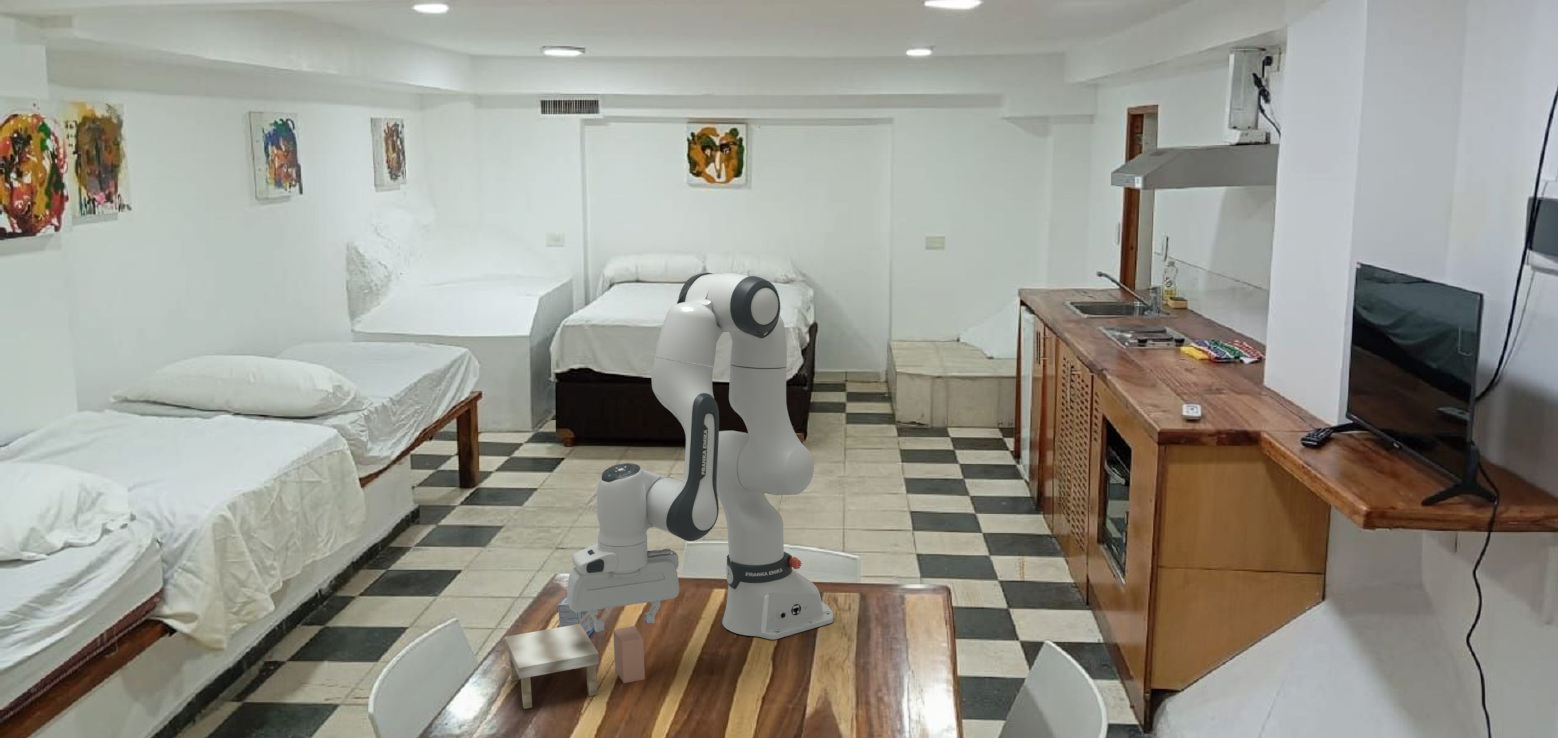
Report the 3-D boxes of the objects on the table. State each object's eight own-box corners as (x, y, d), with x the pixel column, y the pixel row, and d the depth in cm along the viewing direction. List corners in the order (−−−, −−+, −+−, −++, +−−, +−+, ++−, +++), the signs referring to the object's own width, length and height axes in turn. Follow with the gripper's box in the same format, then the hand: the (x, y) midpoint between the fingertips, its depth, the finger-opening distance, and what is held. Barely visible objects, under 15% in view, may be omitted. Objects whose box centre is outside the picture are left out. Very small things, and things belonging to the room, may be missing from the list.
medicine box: (581, 646, 236) (579, 604, 234) (560, 645, 236) (557, 603, 235) (595, 630, 243) (593, 589, 241) (574, 628, 244) (572, 588, 242)
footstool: (582, 663, 228) (580, 623, 227) (600, 695, 215) (598, 653, 214) (507, 677, 223) (504, 636, 221) (521, 710, 210) (518, 667, 209)
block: (636, 665, 227) (634, 625, 225) (645, 679, 222) (643, 638, 220) (615, 669, 226) (613, 629, 224) (623, 683, 220) (621, 642, 218)
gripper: (672, 542, 225) (674, 612, 228) (563, 556, 218) (566, 628, 220) (683, 552, 220) (684, 624, 222) (571, 567, 212) (574, 641, 214)
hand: (624, 626), depth 221 cm, fingers open, 8 cm apart
